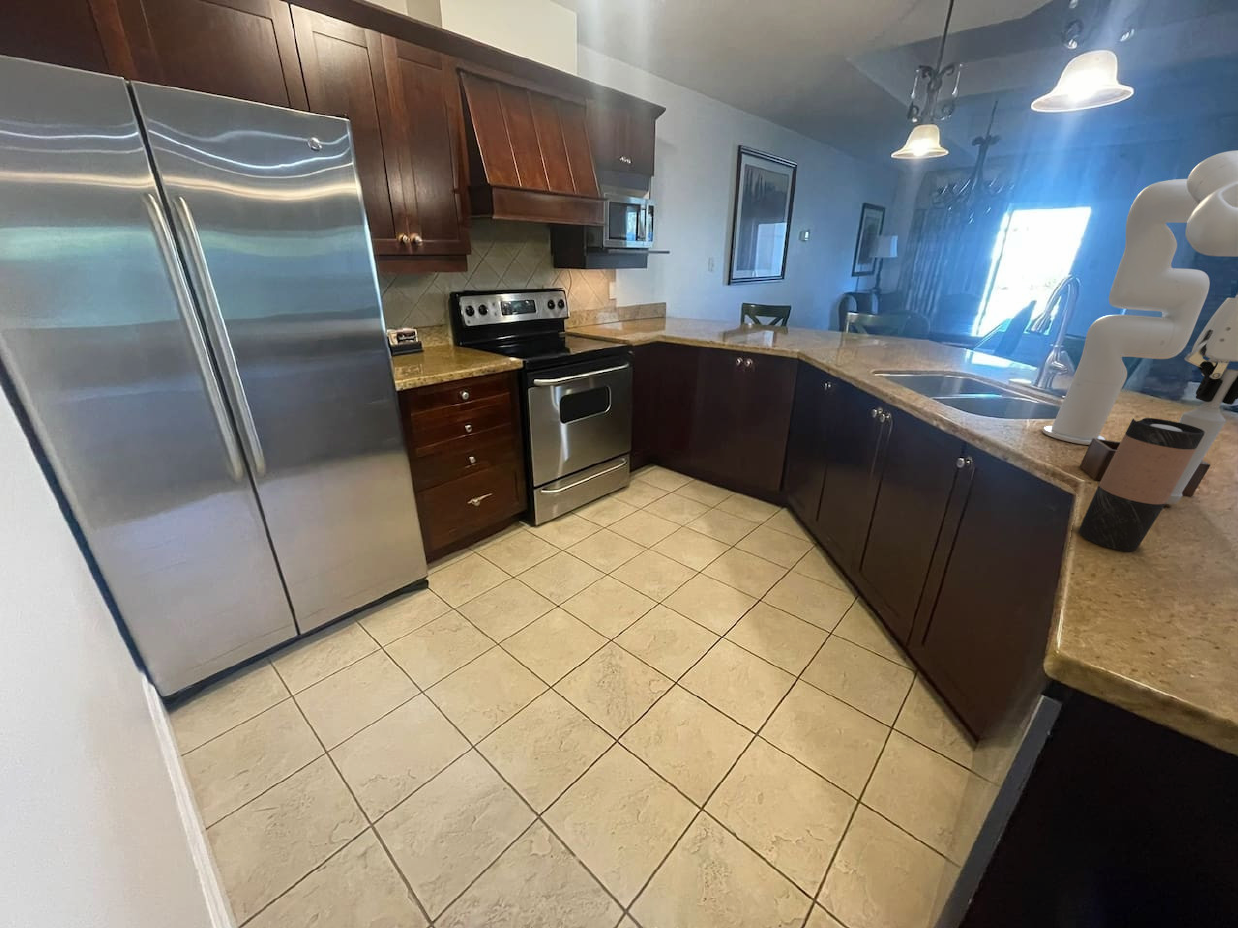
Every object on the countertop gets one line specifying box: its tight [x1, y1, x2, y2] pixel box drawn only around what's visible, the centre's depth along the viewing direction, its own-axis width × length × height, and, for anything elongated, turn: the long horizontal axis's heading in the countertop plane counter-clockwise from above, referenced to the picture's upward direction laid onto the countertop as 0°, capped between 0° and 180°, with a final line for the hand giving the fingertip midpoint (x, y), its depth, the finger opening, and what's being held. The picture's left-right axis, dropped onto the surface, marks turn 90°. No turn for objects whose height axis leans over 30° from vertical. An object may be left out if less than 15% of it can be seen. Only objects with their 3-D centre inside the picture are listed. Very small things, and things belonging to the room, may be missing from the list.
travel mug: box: [1078, 417, 1205, 552], centre depth 74 cm, size 8×8×20 cm
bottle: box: [1166, 368, 1238, 505], centre depth 86 cm, size 5×5×25 cm
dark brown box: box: [1078, 438, 1211, 497], centre depth 100 cm, size 8×15×7 cm, turn 65°
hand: (1213, 400), depth 83 cm, fingers closed on bottle, 2 cm apart
